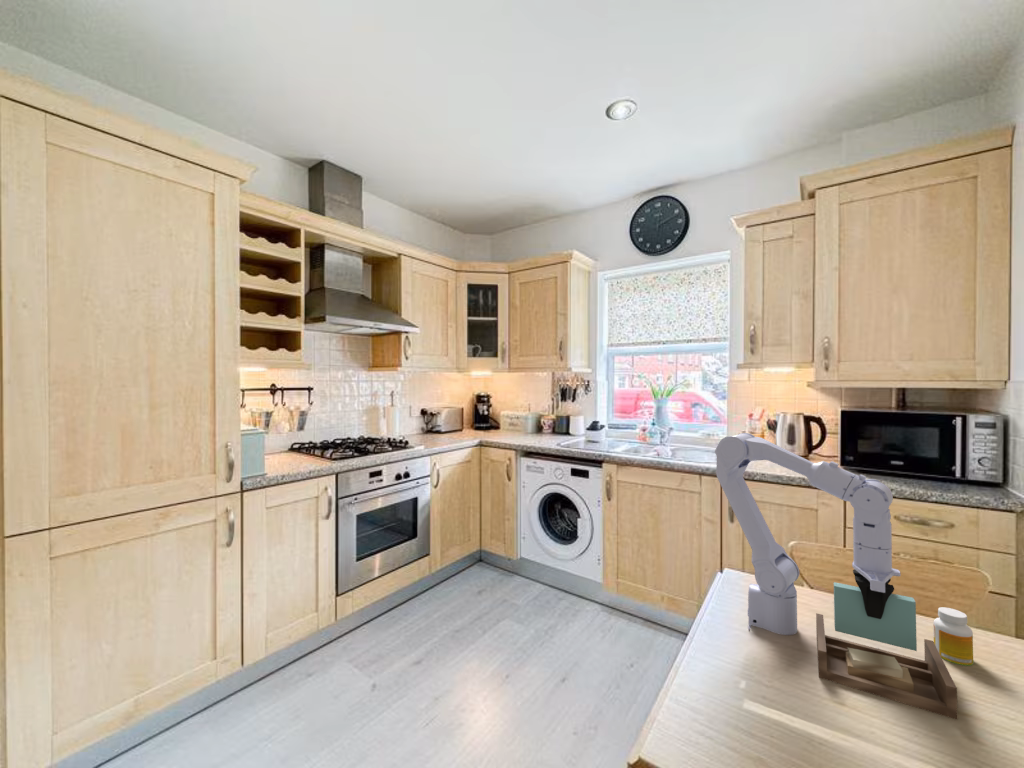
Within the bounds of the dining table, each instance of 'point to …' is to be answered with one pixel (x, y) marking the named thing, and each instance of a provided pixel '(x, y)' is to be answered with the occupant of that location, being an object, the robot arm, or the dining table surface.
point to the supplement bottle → (953, 636)
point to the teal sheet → (889, 629)
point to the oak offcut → (883, 677)
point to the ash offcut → (875, 662)
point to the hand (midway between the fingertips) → (873, 613)
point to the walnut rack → (927, 676)
